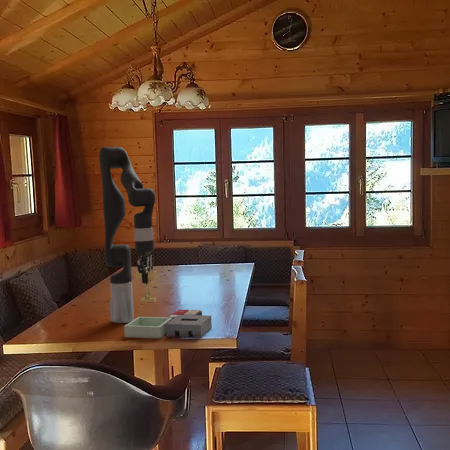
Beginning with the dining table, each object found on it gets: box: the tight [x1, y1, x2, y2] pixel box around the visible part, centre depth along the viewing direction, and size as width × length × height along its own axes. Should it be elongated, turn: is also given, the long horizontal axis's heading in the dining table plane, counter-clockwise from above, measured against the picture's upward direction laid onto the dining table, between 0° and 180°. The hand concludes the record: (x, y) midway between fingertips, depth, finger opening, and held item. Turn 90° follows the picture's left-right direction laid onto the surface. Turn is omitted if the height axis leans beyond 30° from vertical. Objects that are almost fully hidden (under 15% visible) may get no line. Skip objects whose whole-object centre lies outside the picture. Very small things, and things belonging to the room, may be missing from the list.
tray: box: [123, 316, 173, 339], centre depth 231 cm, size 15×14×4 cm
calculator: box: [167, 309, 203, 319], centre depth 247 cm, size 11×4×15 cm
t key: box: [135, 270, 158, 303], centre depth 229 cm, size 8×2×12 cm, turn 74°
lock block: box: [166, 314, 213, 339], centre depth 230 cm, size 14×14×5 cm
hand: (146, 282), depth 229 cm, fingers closed on t key, 2 cm apart
